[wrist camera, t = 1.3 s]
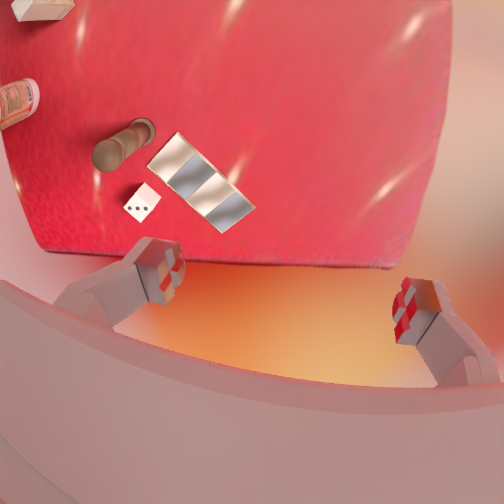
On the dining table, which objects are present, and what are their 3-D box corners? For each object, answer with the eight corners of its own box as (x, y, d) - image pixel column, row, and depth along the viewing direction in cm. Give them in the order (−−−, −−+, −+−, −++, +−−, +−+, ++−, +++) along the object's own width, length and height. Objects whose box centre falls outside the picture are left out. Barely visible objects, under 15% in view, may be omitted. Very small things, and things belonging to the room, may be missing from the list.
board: (147, 165, 47) (146, 166, 46) (177, 131, 43) (176, 132, 42) (222, 232, 56) (221, 233, 55) (255, 207, 52) (255, 208, 51)
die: (131, 197, 51) (122, 209, 48) (144, 182, 49) (135, 193, 45) (148, 212, 53) (140, 225, 50) (162, 198, 51) (154, 210, 48)
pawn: (124, 132, 43) (79, 163, 31) (141, 112, 40) (95, 136, 29) (144, 150, 45) (104, 186, 33) (161, 130, 43) (122, 160, 31)
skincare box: (76, 5, 25) (34, 2, 15) (61, 21, 26) (18, 23, 17) (66, -11, 21) (25, -15, 12) (51, 4, 23) (9, 5, 13)
